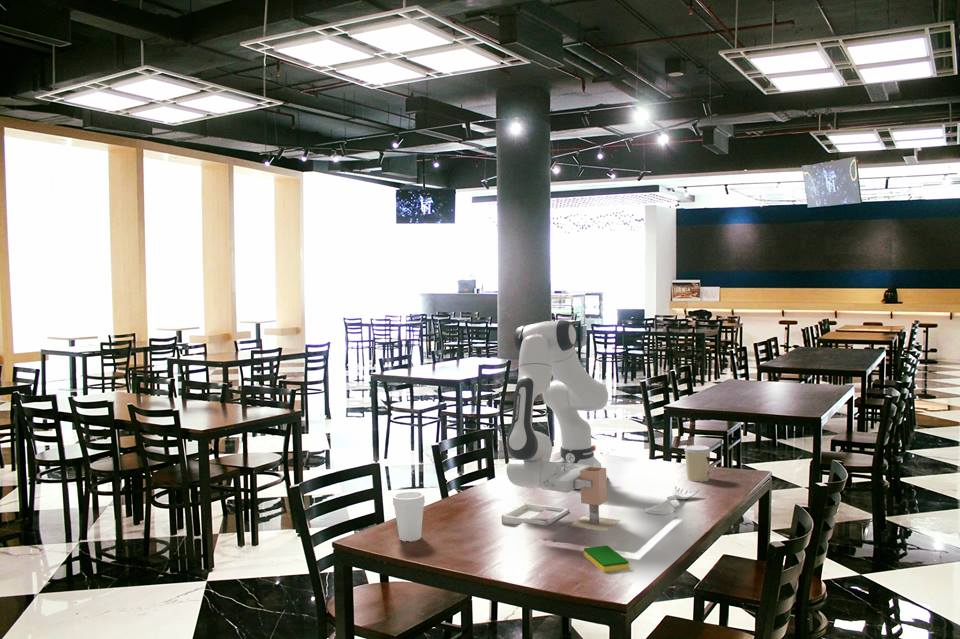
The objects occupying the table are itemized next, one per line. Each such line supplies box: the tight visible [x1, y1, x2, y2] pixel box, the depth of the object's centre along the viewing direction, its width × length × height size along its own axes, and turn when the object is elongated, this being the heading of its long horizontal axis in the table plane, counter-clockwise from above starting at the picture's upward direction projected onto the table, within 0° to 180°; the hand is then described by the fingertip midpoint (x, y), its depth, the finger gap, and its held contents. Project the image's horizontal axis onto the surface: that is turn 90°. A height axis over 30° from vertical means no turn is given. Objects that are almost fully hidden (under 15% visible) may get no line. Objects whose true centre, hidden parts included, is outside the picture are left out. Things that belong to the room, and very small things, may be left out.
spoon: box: [644, 485, 700, 516], centre depth 256 cm, size 9×32×4 cm, turn 146°
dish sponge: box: [583, 545, 630, 573], centre depth 206 cm, size 7×14×2 cm, turn 14°
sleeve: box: [580, 466, 608, 506], centre depth 236 cm, size 6×6×10 cm
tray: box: [501, 502, 570, 527], centre depth 246 cm, size 16×16×2 cm
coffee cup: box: [684, 444, 711, 483], centre depth 290 cm, size 9×9×12 cm
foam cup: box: [392, 490, 426, 542], centre depth 232 cm, size 10×9×13 cm
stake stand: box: [568, 504, 621, 532], centre depth 236 cm, size 12×12×8 cm
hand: (596, 480), depth 235 cm, fingers closed on sleeve, 6 cm apart
